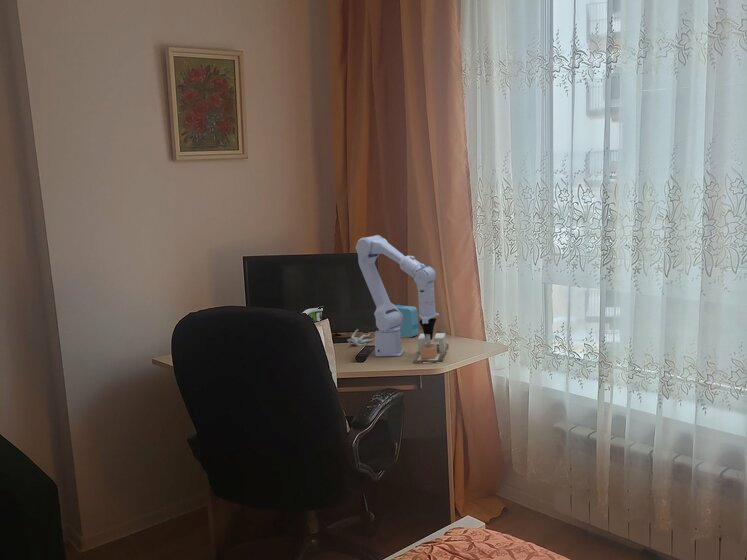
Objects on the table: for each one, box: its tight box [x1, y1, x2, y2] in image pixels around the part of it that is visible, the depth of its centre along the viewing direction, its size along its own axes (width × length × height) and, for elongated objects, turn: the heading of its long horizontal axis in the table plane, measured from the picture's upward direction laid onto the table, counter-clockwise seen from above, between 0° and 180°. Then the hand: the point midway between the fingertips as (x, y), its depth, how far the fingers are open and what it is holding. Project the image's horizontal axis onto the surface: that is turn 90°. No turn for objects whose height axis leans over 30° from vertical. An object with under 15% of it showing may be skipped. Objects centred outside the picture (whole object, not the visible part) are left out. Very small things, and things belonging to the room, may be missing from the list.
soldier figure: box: [346, 328, 375, 347], centre depth 298 cm, size 8×5×12 cm
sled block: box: [420, 334, 438, 359], centre depth 267 cm, size 5×6×8 cm
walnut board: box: [412, 343, 449, 364], centre depth 274 cm, size 10×24×1 cm, turn 169°
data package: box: [395, 304, 420, 338], centre depth 307 cm, size 12×4×12 cm, turn 48°
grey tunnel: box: [417, 332, 447, 353], centre depth 277 cm, size 9×8×5 cm
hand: (429, 339), depth 268 cm, fingers closed
